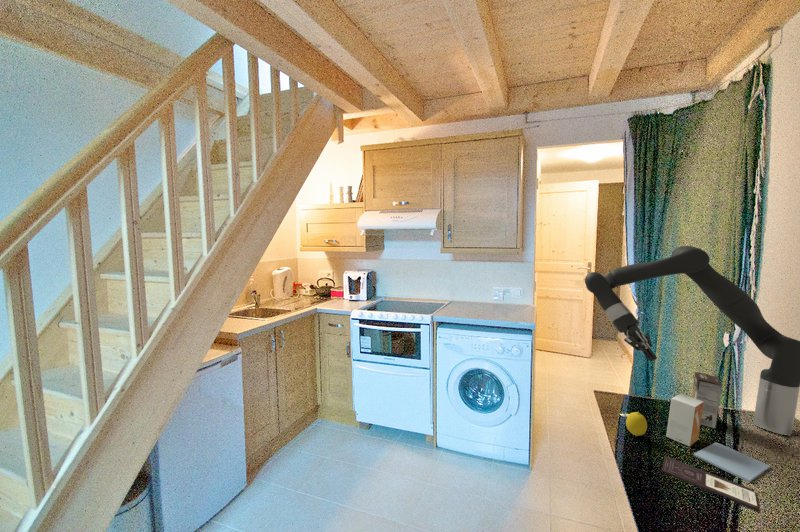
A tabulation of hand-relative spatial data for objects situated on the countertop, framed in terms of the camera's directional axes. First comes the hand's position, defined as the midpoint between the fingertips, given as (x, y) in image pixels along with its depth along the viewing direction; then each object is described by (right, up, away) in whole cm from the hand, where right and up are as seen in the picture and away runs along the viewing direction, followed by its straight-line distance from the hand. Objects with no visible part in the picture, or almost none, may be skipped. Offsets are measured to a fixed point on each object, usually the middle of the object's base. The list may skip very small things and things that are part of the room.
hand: (653, 360), depth 117 cm
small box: (+2, -23, -9) cm, 25 cm away
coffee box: (+20, -23, +4) cm, 31 cm away
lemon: (-13, -22, -9) cm, 27 cm away
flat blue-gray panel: (+7, -24, -20) cm, 32 cm away
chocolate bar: (-9, -24, -29) cm, 39 cm away
